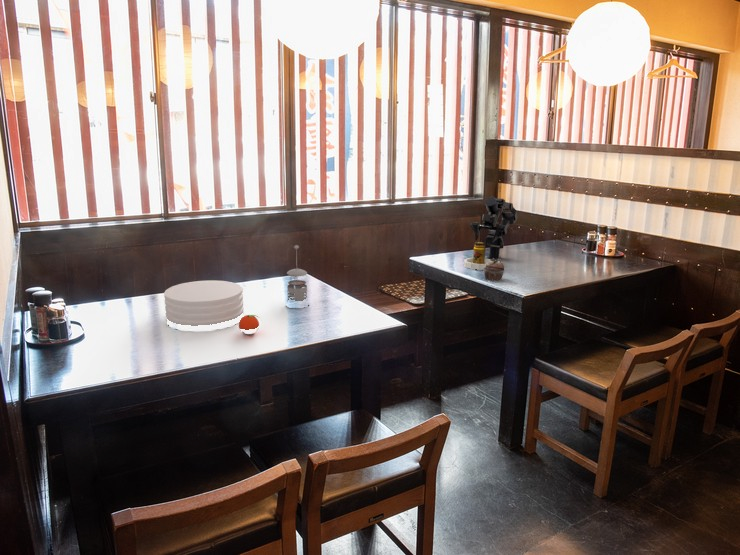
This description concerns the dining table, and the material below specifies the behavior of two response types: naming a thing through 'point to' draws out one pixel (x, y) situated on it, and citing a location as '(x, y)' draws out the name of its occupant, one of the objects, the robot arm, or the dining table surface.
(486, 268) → the cupcake
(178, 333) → the dining table surface
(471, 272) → the dining table surface
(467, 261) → the bowl
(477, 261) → the condiment
